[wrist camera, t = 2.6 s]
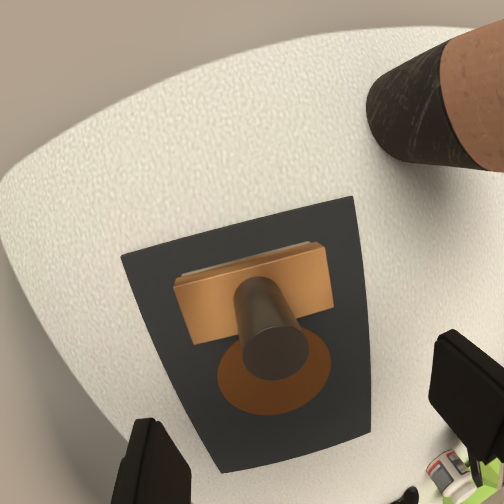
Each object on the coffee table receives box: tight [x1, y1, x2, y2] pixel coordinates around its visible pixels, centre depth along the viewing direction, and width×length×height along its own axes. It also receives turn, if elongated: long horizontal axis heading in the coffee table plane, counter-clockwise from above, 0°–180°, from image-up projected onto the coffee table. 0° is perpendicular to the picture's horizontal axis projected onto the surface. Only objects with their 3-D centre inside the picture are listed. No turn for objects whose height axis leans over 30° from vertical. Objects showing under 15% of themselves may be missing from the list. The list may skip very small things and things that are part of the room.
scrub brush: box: [173, 241, 334, 381], centre depth 16 cm, size 9×4×9 cm, turn 103°
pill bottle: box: [427, 450, 477, 504], centre depth 28 cm, size 5×5×9 cm
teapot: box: [443, 458, 501, 504], centre depth 30 cm, size 20×13×13 cm
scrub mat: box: [121, 196, 371, 474], centre depth 23 cm, size 16×24×1 cm, turn 13°
